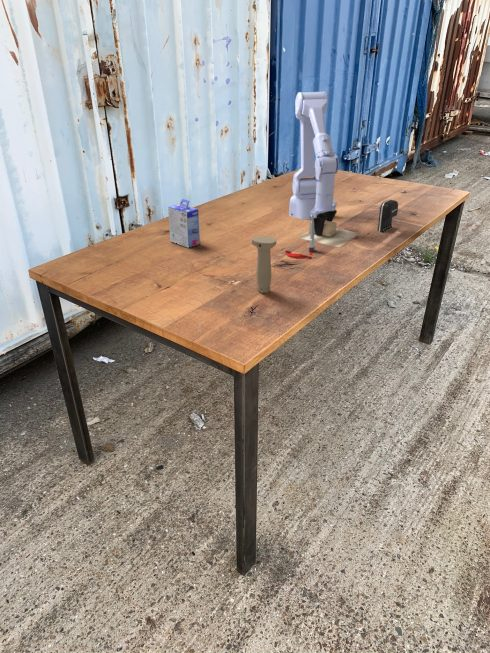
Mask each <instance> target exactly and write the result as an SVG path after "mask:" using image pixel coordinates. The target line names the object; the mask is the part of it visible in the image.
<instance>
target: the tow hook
mask: <svg viewBox="0 0 490 653" xmlns="http://www.w3.org/2000/svg"><path fill="white" fill-rule="evenodd" d="M309 225H310V241H309V248H308V252H309V254H308V255H309V256H308V255H305V254H301V253H299V254H297V253H292V251H289V250H285V255H286V256H287V257H289V258H293V259H304V258H308V259H313V257H312V256H313V253H315V251H316V244H315V243H316V242H315V239H314V216H313V215H311V219H310V221H309Z"/></svg>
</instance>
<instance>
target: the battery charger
mask: <svg viewBox="0 0 490 653" xmlns="http://www.w3.org/2000/svg"><path fill="white" fill-rule="evenodd" d="M398 211H399V202H398V201H397V200H394V199H387V200H384V201H383V202H382V203H381V204H380V207H379V213H378V221H377V222H378V223H377V224H378V226H377V232H379V233H382V234H384V233H386V232H388V231H390V230H391V229H393V226H392V224H393V222H392V221H393V218H394V217H395V216H398Z"/></svg>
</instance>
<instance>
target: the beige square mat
mask: <svg viewBox="0 0 490 653" xmlns="http://www.w3.org/2000/svg"><path fill="white" fill-rule="evenodd" d="M359 235H361V232H356V231H352V230H348V229H343V228H339V227H336V234H335V235H333V236H332V237H330V238H328V237H324V236H319V235H315V234H314V239H315V243H319V244H323V245H328V246H330V247H331V246H332V247H336V248H340V247H342V246H343V245H345V244H346V243H348V242H349V241H351V240H352V239H354V238H356V237H357V236H359ZM296 238H297V239H300V240H301V239H302V240H305V241H309V242H310V233H309V230H308V231H306V232H304V233H302V234H300V235H299V236H297V237H296Z"/></svg>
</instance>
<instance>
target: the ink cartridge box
mask: <svg viewBox="0 0 490 653" xmlns="http://www.w3.org/2000/svg"><path fill="white" fill-rule="evenodd" d="M184 203H185V204H184ZM189 204H190V200H188V199H184V198H182V199H181V201H180V203H179V204H174V205H171V206H168V207H167V210H168V211H167V212H168V224H169V226H168V227H169V240H170V241H169V242H171V243H174V244H176V243H177V245H179V246H182V247H185V248H187V249H189V247H190V248H192V246H193V247H195V245H196V246H199V245H200V244H201V239H200V236H201V235H200V221H199V218H200V217H199V216H200V215H199V209H198V208H196V207H193V206H192V207H191V206H189ZM198 244H199V245H198Z"/></svg>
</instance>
